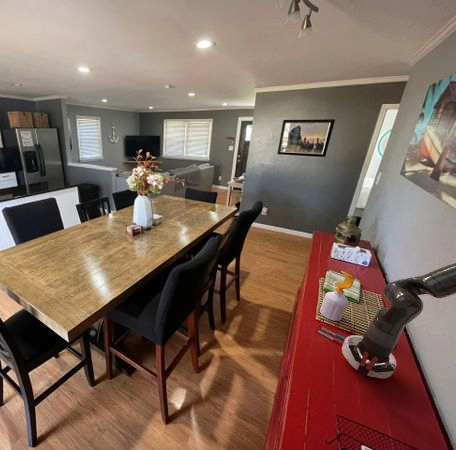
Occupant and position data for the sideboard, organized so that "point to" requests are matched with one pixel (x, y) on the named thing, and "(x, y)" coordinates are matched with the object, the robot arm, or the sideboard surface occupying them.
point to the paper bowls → (356, 364)
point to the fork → (334, 334)
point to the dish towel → (336, 277)
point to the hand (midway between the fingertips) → (361, 373)
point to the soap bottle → (336, 300)
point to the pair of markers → (331, 338)
